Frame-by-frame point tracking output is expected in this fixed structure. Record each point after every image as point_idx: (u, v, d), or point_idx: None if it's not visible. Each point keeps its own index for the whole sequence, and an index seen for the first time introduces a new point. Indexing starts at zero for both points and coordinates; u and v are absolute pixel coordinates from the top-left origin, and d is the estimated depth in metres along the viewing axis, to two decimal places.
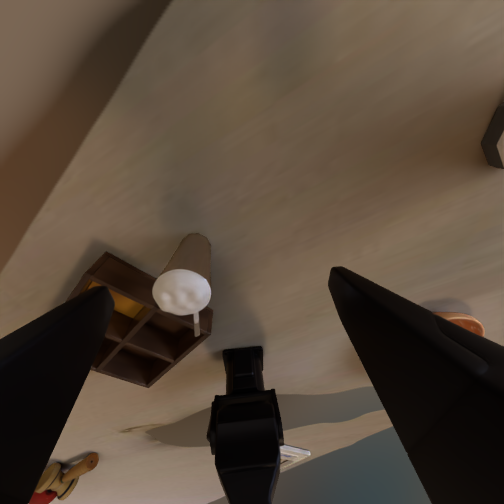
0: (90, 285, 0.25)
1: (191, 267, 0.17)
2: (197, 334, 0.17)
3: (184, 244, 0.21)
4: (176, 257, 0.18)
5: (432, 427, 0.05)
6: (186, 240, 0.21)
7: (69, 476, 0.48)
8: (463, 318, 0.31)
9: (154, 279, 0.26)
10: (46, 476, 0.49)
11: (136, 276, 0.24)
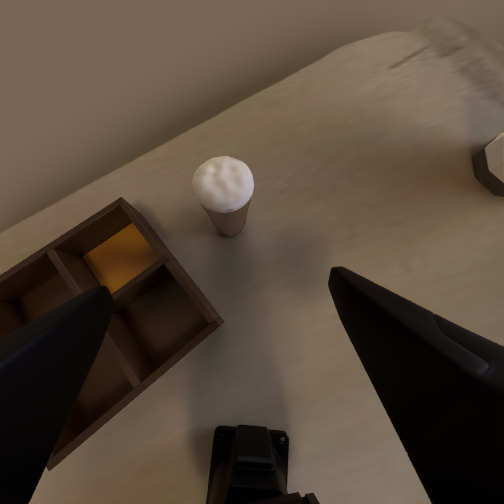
0: (101, 244, 0.22)
1: None
2: (230, 209, 0.13)
3: None
4: None
5: (432, 427, 0.05)
6: None
7: None
8: None
9: (171, 254, 0.22)
10: None
11: (157, 237, 0.22)
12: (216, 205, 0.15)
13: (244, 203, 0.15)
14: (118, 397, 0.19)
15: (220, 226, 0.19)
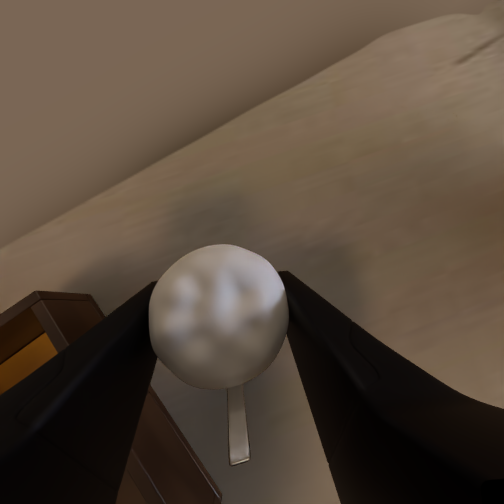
0: (15, 355, 0.13)
1: None
2: (240, 455, 0.04)
3: None
4: None
5: (339, 439, 0.05)
6: None
7: None
8: None
9: None
10: None
11: None
12: (202, 383, 0.06)
13: (269, 364, 0.07)
14: None
15: None
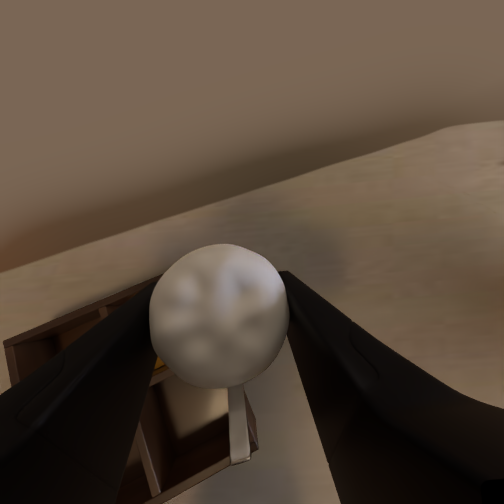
0: None
1: None
2: (240, 454, 0.04)
3: None
4: None
5: (339, 439, 0.05)
6: None
7: None
8: None
9: None
10: None
11: None
12: (203, 382, 0.06)
13: (269, 363, 0.07)
14: (128, 476, 0.17)
15: None
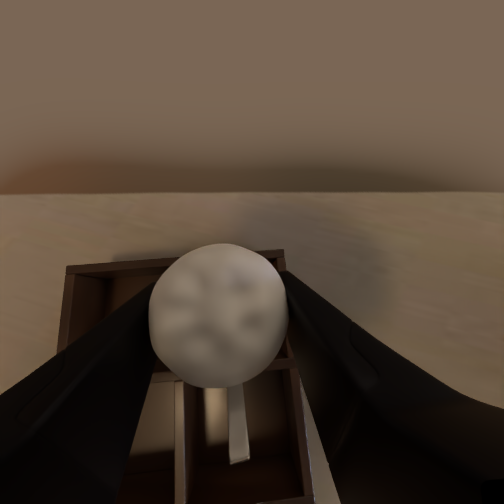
0: None
1: None
2: (240, 454, 0.04)
3: None
4: None
5: (339, 440, 0.05)
6: None
7: None
8: None
9: None
10: None
11: None
12: (202, 382, 0.06)
13: (269, 363, 0.07)
14: (141, 466, 0.15)
15: None
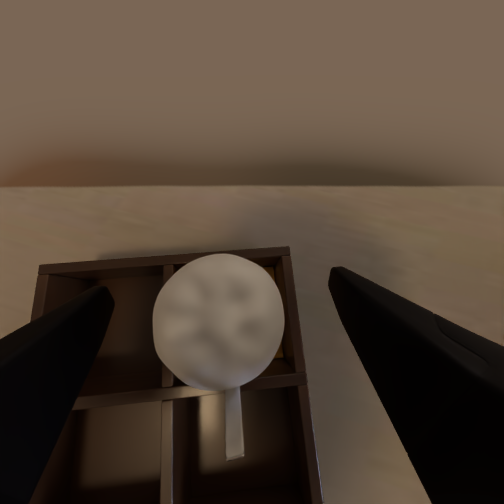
0: None
1: None
2: (235, 452, 0.05)
3: None
4: None
5: (432, 427, 0.05)
6: None
7: None
8: None
9: None
10: None
11: None
12: (202, 385, 0.06)
13: (265, 368, 0.07)
14: (124, 498, 0.13)
15: None
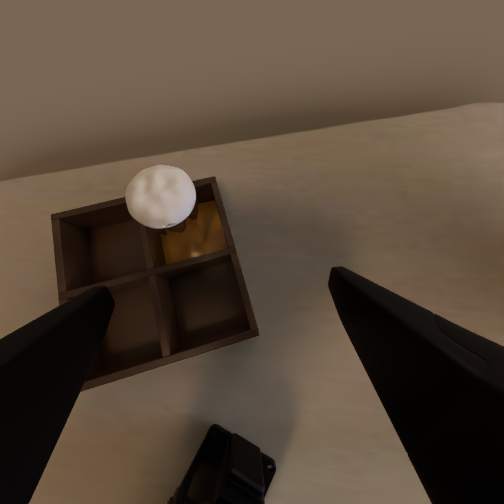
0: None
1: None
2: (166, 225, 0.12)
3: None
4: None
5: (432, 427, 0.05)
6: None
7: None
8: None
9: None
10: None
11: None
12: (155, 221, 0.13)
13: (187, 213, 0.14)
14: (139, 354, 0.20)
15: (175, 239, 0.18)
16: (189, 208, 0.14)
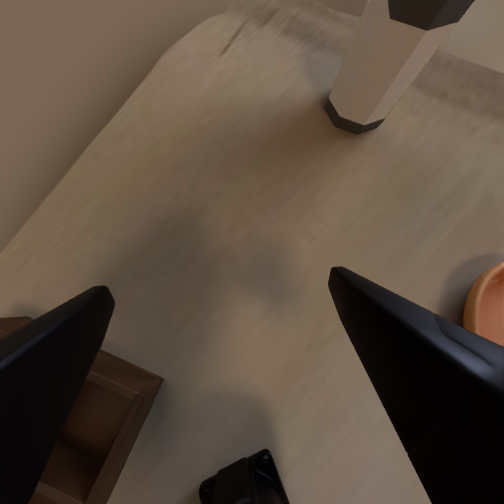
0: None
1: None
2: None
3: None
4: None
5: (432, 427, 0.05)
6: None
7: None
8: None
9: None
10: None
11: None
12: None
13: None
14: None
15: None
16: None
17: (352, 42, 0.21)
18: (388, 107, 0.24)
